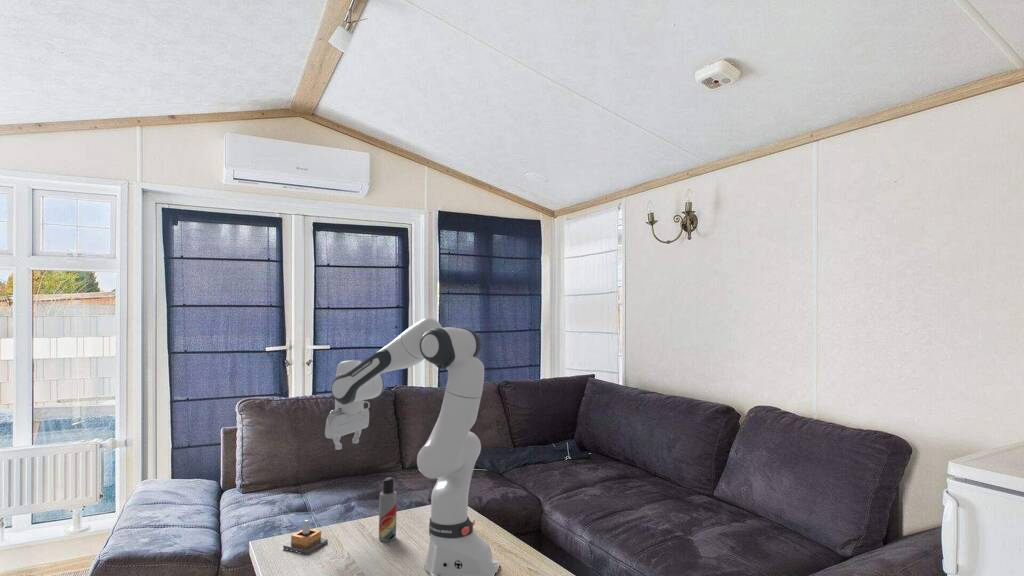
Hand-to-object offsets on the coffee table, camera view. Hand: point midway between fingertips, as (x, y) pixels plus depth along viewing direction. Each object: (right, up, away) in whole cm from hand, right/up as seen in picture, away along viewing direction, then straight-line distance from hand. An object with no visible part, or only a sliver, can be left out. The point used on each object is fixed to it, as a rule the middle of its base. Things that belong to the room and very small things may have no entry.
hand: (347, 446), depth 190 cm
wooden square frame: (-9, -27, -14) cm, 32 cm away
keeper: (-9, -28, -14) cm, 33 cm away
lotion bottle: (+16, -29, -7) cm, 34 cm away
